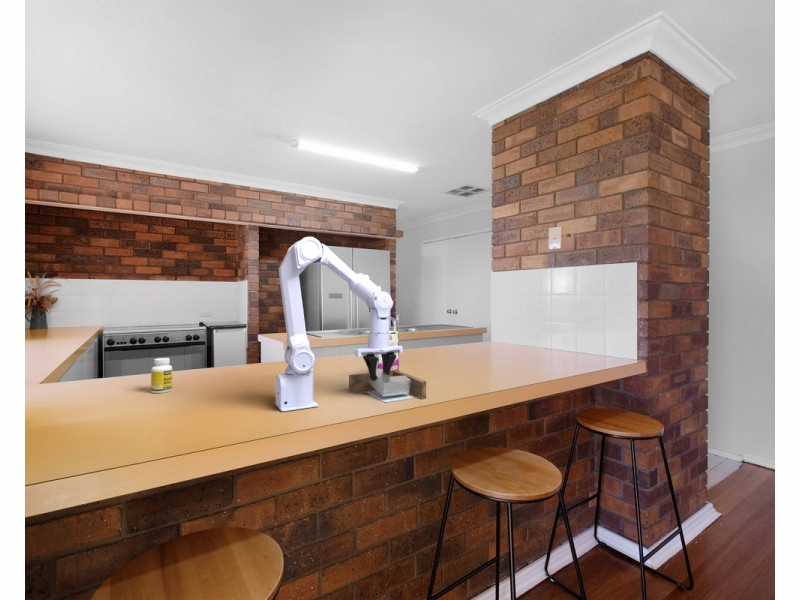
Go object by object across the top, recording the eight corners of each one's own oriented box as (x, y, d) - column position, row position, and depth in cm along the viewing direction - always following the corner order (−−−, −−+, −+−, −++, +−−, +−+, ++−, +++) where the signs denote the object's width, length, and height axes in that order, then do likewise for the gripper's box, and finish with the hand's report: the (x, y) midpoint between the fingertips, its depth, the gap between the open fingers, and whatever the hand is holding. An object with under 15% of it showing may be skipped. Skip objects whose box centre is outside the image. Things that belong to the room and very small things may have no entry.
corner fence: (375, 406, 101) (375, 387, 101) (348, 391, 117) (349, 374, 117) (426, 398, 109) (426, 381, 109) (395, 385, 125) (395, 369, 125)
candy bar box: (388, 376, 138) (388, 330, 137) (399, 378, 135) (399, 331, 134) (367, 382, 129) (367, 333, 129) (378, 384, 126) (378, 334, 125)
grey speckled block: (367, 382, 115) (369, 369, 114) (392, 379, 119) (394, 367, 119) (382, 396, 107) (384, 382, 106) (409, 393, 111) (411, 380, 110)
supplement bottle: (165, 393, 113) (164, 360, 113) (146, 393, 113) (146, 360, 113) (176, 389, 118) (176, 357, 118) (158, 389, 119) (158, 357, 118)
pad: (385, 402, 105) (385, 402, 105) (366, 392, 115) (366, 392, 115) (413, 398, 110) (413, 397, 110) (392, 389, 120) (392, 388, 120)
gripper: (362, 335, 105) (362, 385, 105) (408, 332, 112) (407, 379, 113) (352, 332, 111) (352, 379, 111) (396, 330, 118) (396, 374, 119)
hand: (379, 379), depth 112 cm, fingers closed on grey speckled block, 3 cm apart
